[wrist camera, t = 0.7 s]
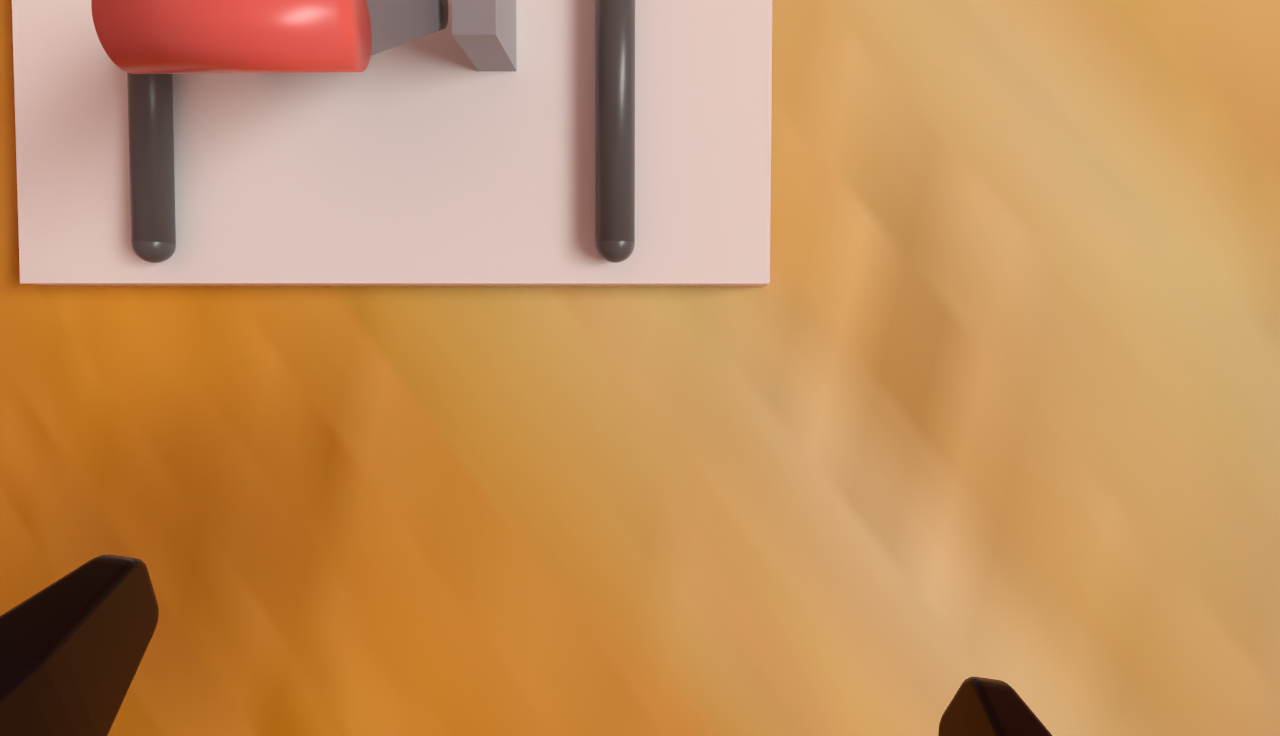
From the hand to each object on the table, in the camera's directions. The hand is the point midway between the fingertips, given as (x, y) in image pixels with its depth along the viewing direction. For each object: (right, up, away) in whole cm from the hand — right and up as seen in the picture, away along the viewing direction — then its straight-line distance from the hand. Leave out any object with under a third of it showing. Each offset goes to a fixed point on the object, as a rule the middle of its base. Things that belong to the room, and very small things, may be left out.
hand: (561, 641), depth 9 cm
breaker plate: (-6, +12, +13) cm, 19 cm away
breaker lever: (-6, +12, +10) cm, 17 cm away
